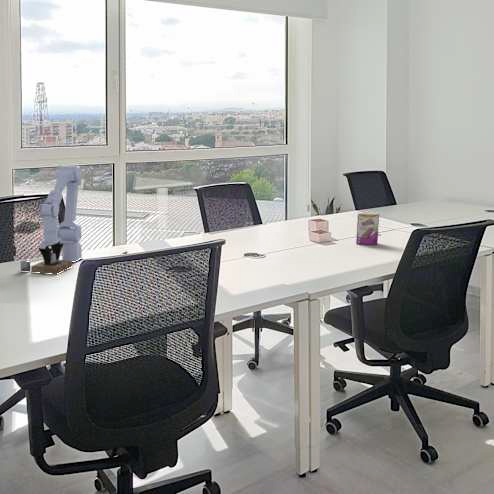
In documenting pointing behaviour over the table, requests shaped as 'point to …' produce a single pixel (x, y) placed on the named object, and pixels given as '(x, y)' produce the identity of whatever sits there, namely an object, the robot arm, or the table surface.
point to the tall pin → (53, 259)
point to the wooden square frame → (51, 267)
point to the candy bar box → (367, 228)
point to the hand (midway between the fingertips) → (52, 261)
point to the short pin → (25, 265)
